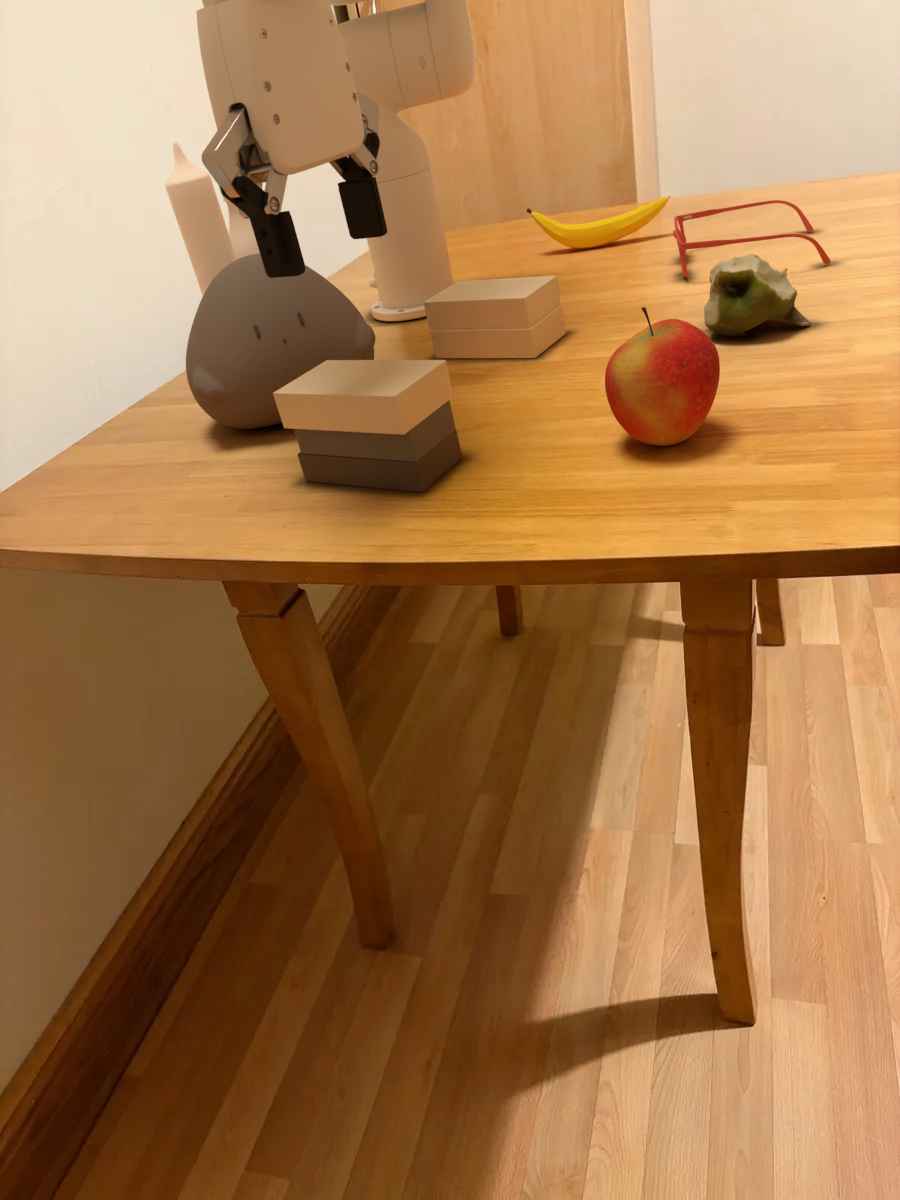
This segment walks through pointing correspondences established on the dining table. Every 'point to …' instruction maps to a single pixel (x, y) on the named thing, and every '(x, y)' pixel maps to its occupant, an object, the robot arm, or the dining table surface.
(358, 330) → the decorative object
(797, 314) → the fruit
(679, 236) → the red eyeglasses
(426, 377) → the cream rectangular block
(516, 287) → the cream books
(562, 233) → the banana
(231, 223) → the milk bottle
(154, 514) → the dining table surface
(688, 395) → the apple
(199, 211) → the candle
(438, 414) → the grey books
